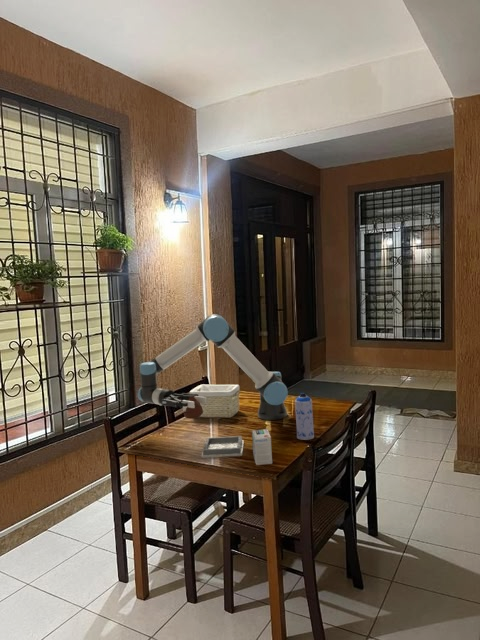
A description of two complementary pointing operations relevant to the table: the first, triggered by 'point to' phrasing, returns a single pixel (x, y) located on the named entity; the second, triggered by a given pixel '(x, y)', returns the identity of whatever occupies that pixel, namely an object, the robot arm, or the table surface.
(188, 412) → the poop emoji
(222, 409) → the storage basket
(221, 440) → the mousse holder
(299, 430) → the aerosol can
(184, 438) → the table surface
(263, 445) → the light bulb box
